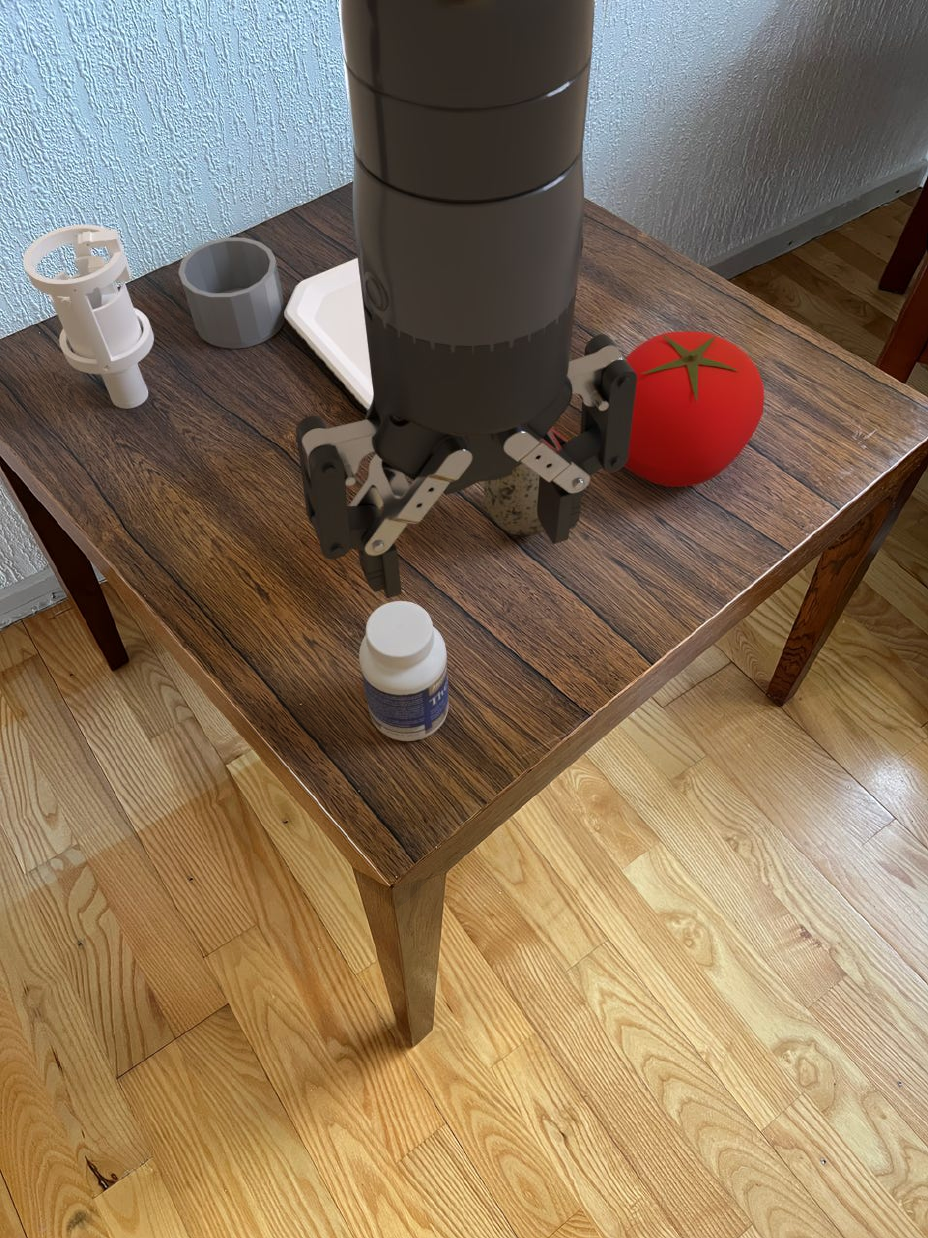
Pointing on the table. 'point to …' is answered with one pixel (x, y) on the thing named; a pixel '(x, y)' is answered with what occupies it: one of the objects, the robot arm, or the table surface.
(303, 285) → the plate
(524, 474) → the decorative egg
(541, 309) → the robot arm
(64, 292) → the white ringed tube holder
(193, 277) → the grey faceted pot
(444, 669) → the pill bottle
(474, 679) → the table surface
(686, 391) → the tomato
